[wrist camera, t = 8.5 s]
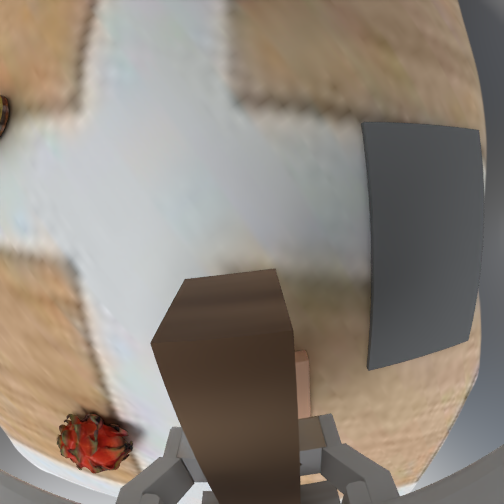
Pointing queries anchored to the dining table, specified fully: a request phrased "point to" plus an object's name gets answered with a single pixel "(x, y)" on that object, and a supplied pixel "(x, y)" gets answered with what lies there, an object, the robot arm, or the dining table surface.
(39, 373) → the dining table surface
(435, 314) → the mat
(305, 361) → the tile
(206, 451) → the wooden post on base
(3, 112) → the sauce bottle
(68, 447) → the dragon fruit
